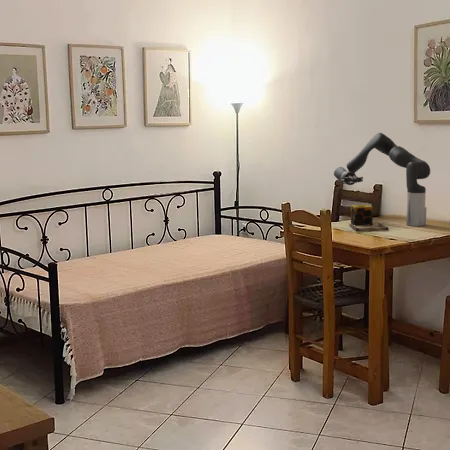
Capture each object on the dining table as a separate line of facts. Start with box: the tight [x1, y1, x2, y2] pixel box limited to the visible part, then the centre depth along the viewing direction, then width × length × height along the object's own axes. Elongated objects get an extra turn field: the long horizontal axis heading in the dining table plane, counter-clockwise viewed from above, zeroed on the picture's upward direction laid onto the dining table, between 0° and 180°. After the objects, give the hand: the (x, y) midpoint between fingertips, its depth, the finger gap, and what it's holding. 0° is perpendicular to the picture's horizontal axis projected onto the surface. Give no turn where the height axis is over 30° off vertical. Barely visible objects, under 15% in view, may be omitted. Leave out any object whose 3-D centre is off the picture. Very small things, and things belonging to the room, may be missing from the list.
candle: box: [350, 204, 374, 226], centre depth 372 cm, size 10×10×10 cm
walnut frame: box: [348, 222, 389, 232], centre depth 358 cm, size 16×15×2 cm
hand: (355, 180), depth 383 cm, fingers closed
